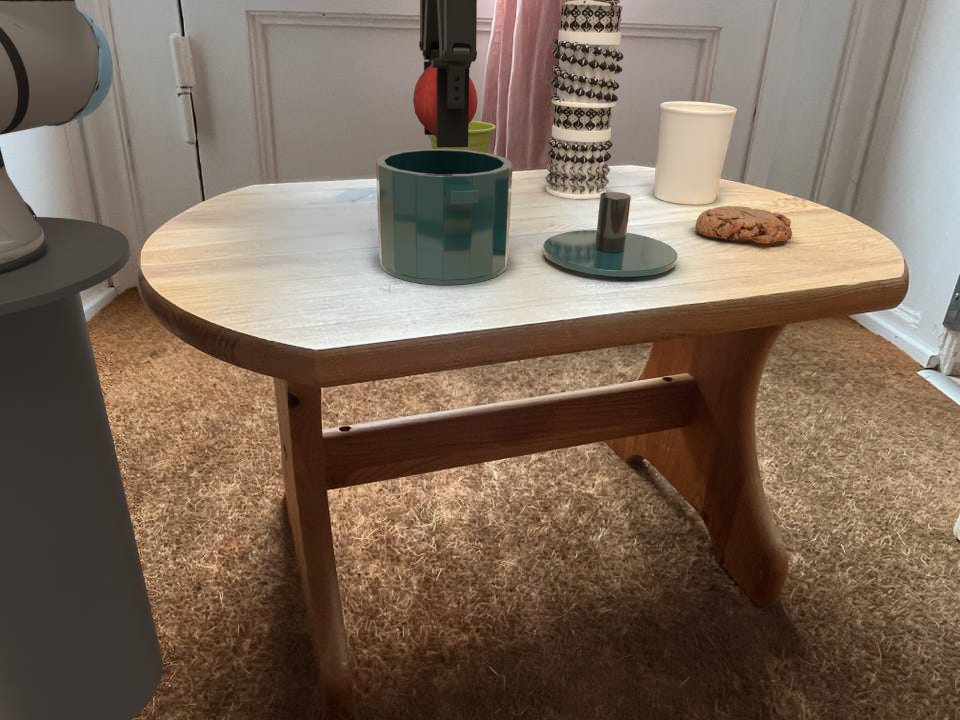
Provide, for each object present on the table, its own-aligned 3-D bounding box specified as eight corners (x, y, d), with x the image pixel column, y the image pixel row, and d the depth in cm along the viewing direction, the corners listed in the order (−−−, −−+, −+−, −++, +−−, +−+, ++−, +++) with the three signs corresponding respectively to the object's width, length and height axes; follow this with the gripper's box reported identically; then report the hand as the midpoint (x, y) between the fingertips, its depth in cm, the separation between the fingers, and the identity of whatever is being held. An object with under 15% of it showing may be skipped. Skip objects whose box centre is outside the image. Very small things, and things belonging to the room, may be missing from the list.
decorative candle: (529, 188, 103) (540, -11, 92) (576, 181, 108) (592, -9, 97) (574, 202, 97) (592, -10, 86) (622, 194, 102) (645, -8, 91)
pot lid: (568, 286, 68) (574, 215, 65) (526, 243, 80) (530, 181, 77) (700, 278, 71) (712, 210, 68) (641, 238, 83) (649, 178, 80)
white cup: (721, 193, 104) (736, 104, 99) (720, 209, 96) (738, 113, 91) (651, 186, 107) (662, 99, 101) (644, 202, 98) (657, 108, 93)
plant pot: (439, 179, 107) (439, 117, 103) (501, 185, 104) (503, 122, 101) (414, 193, 99) (413, 126, 95) (481, 200, 96) (483, 132, 93)
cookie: (680, 225, 88) (684, 200, 87) (759, 222, 91) (764, 198, 89) (721, 250, 80) (726, 223, 78) (808, 247, 82) (814, 220, 81)
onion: (403, 145, 67) (401, 49, 63) (427, 135, 71) (427, 46, 68) (464, 150, 65) (466, 52, 61) (484, 140, 70) (487, 49, 66)
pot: (392, 299, 64) (389, 184, 60) (371, 239, 80) (367, 144, 75) (530, 291, 67) (537, 181, 62) (483, 234, 83) (486, 143, 78)
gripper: (526, -184, 50) (511, 159, 61) (467, -140, 67) (463, 124, 77) (418, -193, 49) (421, 161, 59) (385, -146, 65) (391, 124, 75)
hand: (445, 139), depth 68 cm, fingers closed on onion, 6 cm apart
